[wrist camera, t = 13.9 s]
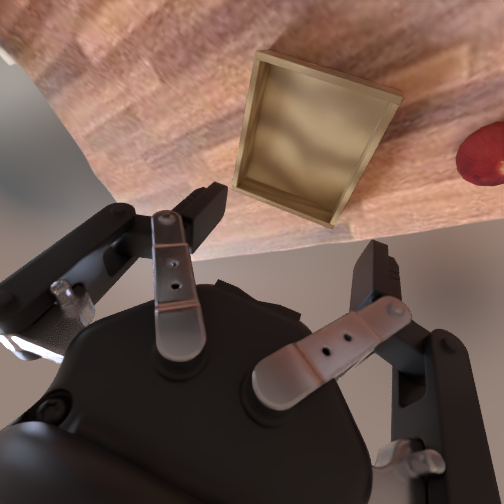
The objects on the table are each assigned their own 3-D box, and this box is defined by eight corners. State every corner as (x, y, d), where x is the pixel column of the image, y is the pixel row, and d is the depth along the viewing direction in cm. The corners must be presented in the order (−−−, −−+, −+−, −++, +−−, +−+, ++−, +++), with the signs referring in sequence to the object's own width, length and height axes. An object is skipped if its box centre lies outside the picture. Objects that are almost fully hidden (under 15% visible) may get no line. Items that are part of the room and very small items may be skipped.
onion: (520, 158, 28) (559, 189, 22) (453, 178, 31) (471, 210, 25) (517, 103, 25) (559, 121, 19) (445, 130, 28) (462, 153, 23)
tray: (268, 49, 30) (255, 50, 27) (401, 90, 28) (404, 97, 25) (242, 178, 41) (231, 189, 38) (335, 214, 39) (332, 229, 36)
